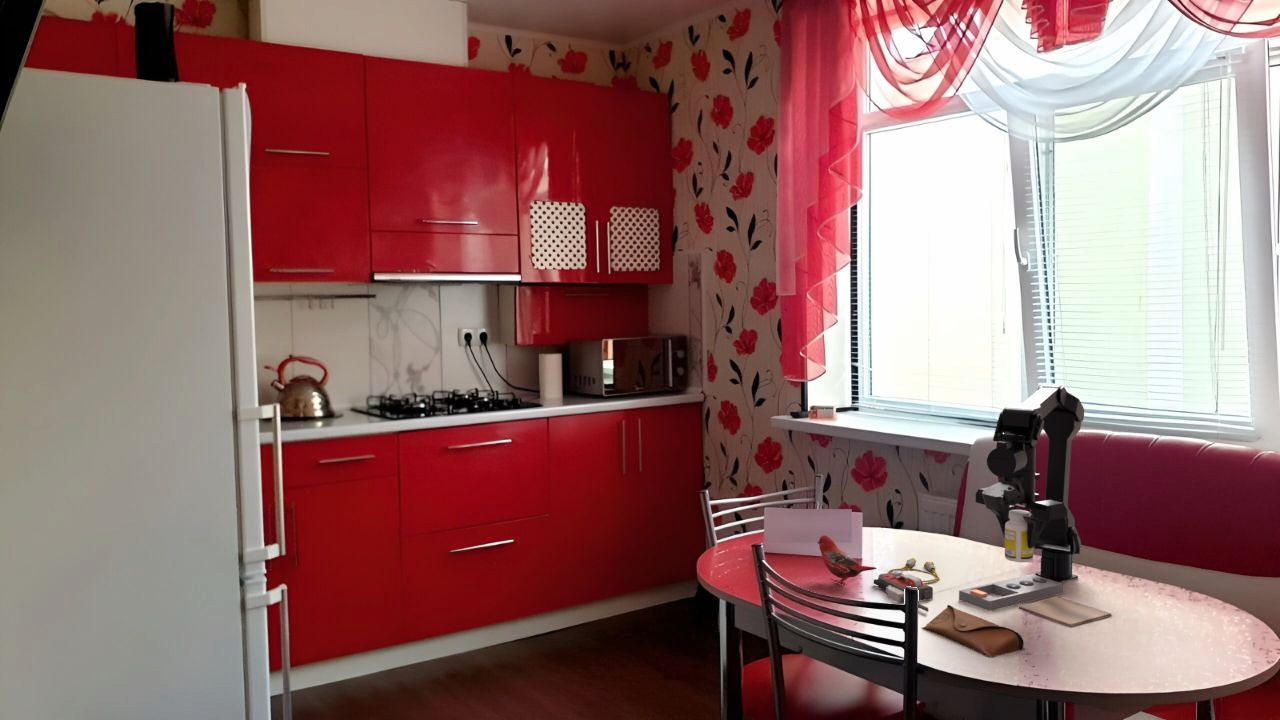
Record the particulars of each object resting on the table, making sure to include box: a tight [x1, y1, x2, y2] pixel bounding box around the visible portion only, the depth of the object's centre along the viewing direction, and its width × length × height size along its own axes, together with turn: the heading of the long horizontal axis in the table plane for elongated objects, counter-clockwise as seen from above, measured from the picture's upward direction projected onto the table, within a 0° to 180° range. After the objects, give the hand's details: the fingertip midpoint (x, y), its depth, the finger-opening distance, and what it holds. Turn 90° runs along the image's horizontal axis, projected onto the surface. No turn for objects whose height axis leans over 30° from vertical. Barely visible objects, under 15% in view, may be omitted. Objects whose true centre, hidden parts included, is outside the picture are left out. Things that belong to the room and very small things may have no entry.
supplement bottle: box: [1004, 509, 1034, 563], centre depth 194 cm, size 5×5×10 cm
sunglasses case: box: [920, 604, 1025, 658], centre depth 177 cm, size 18×7×7 cm, turn 29°
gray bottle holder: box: [958, 573, 1064, 612], centre depth 200 cm, size 22×8×3 cm, turn 118°
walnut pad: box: [1018, 596, 1112, 628], centre depth 190 cm, size 12×12×1 cm
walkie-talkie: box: [873, 571, 934, 612], centre depth 201 cm, size 9×4×20 cm
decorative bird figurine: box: [817, 534, 878, 586], centre depth 208 cm, size 3×18×10 cm, turn 33°
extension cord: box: [887, 557, 940, 585], centre depth 216 cm, size 12×16×2 cm
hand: (1019, 544), depth 194 cm, fingers closed on supplement bottle, 5 cm apart
